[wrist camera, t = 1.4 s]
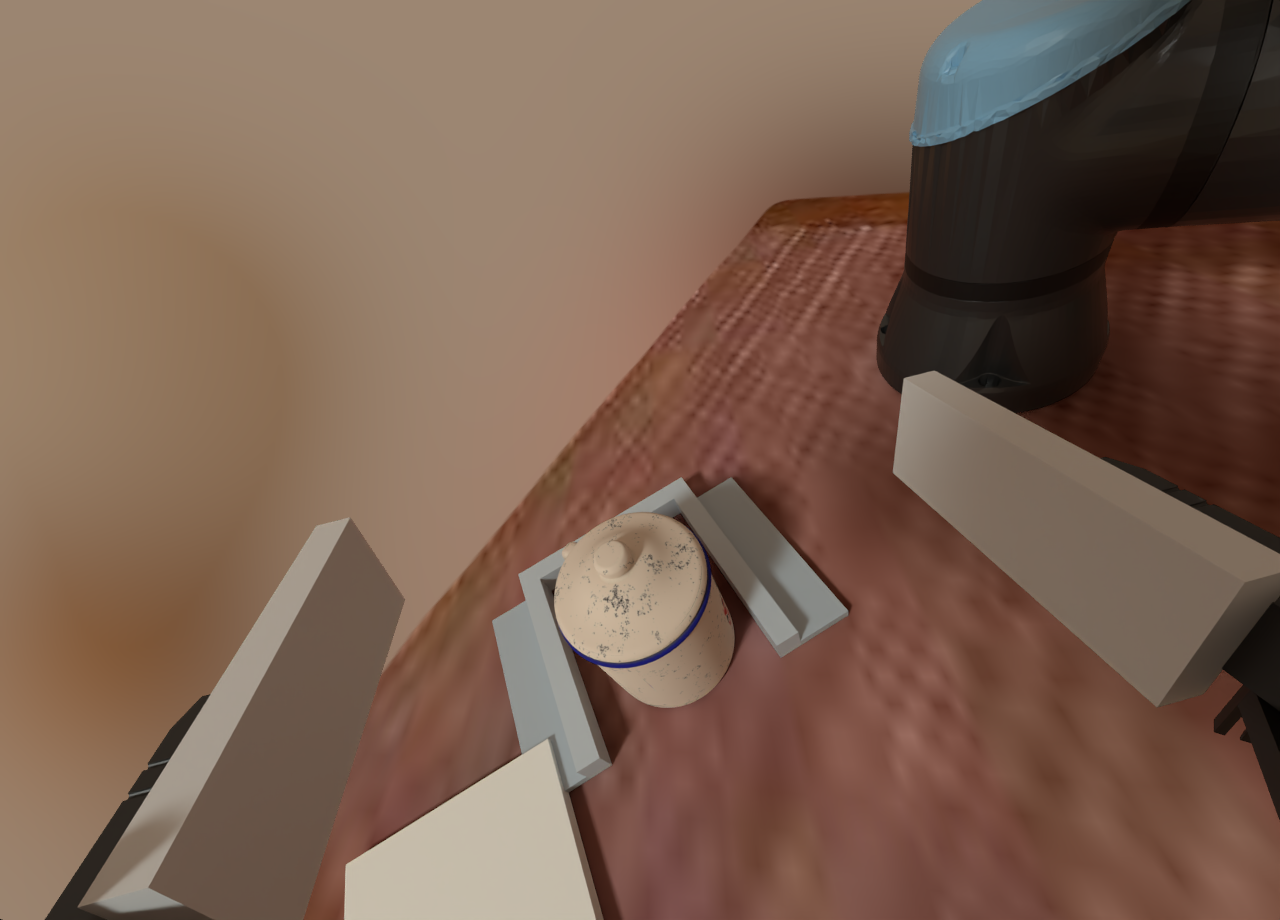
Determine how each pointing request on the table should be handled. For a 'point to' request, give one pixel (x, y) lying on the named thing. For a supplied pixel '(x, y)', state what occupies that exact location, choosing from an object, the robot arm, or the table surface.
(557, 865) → the mat
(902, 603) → the table surface
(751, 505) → the cradle
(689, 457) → the table surface
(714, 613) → the teacup with lid
